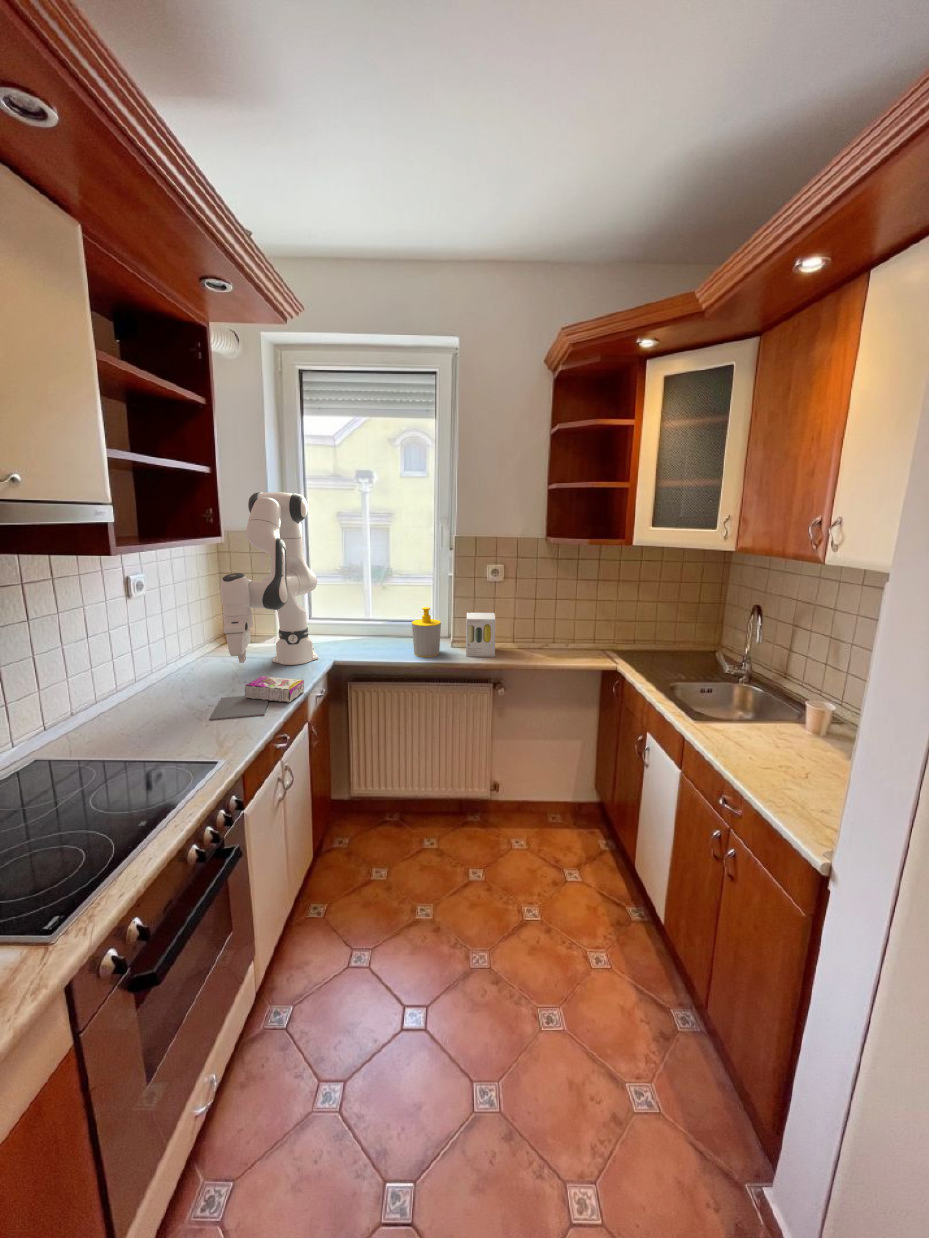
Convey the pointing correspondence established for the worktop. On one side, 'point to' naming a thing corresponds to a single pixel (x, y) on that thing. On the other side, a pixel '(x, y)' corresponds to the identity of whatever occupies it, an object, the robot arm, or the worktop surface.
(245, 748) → the worktop surface
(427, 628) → the soap bottle
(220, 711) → the mat
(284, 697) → the candy bar box
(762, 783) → the worktop surface
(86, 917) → the worktop surface
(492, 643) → the supplement box
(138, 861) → the worktop surface
